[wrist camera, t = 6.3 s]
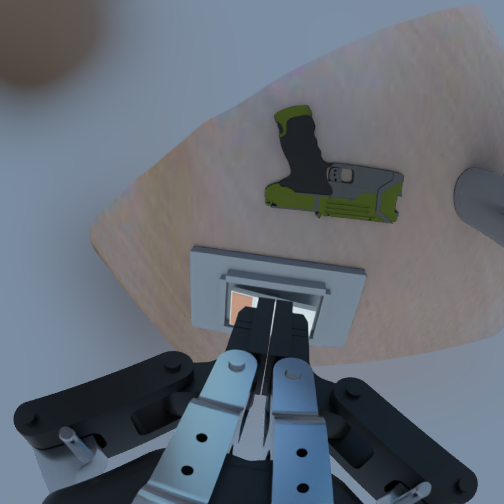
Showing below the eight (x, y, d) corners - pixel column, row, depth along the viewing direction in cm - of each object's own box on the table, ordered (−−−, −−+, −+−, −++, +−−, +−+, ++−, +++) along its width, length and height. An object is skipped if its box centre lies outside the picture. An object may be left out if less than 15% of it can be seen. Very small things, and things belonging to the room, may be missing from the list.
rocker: (316, 307, 36) (315, 312, 35) (308, 340, 38) (306, 345, 37) (234, 286, 39) (230, 291, 38) (232, 319, 42) (229, 324, 41)
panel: (363, 269, 39) (370, 282, 35) (341, 340, 44) (344, 356, 41) (194, 246, 41) (185, 256, 38) (195, 319, 47) (188, 333, 43)
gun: (404, 123, 31) (392, 223, 37) (270, 104, 32) (265, 210, 39) (411, 122, 28) (397, 229, 34) (268, 101, 30) (263, 215, 36)
